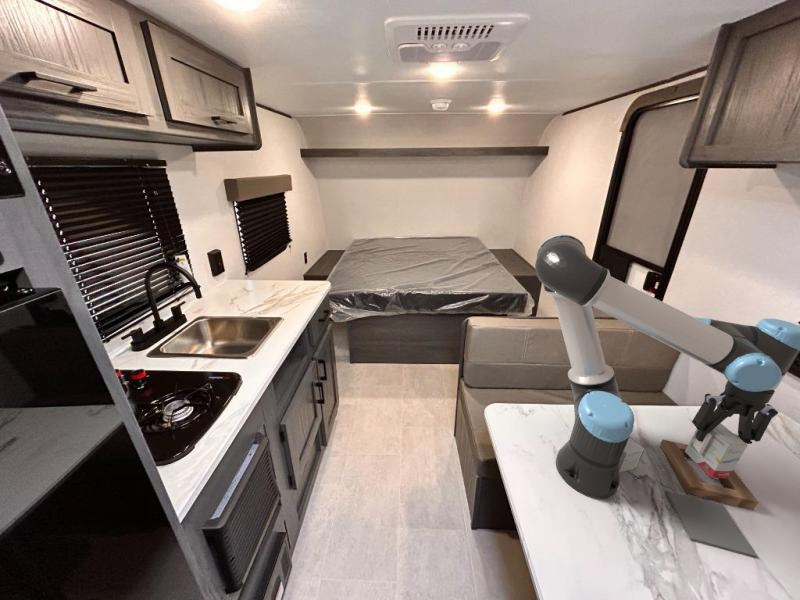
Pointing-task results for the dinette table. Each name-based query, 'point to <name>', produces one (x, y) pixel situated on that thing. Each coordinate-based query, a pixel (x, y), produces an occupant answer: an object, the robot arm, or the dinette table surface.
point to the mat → (709, 524)
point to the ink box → (718, 452)
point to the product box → (630, 456)
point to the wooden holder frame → (729, 494)
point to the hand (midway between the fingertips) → (712, 452)
